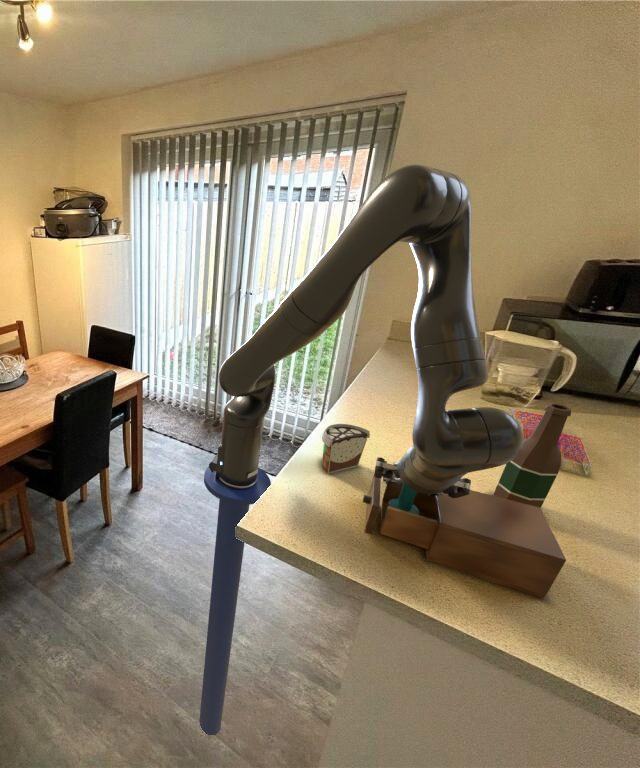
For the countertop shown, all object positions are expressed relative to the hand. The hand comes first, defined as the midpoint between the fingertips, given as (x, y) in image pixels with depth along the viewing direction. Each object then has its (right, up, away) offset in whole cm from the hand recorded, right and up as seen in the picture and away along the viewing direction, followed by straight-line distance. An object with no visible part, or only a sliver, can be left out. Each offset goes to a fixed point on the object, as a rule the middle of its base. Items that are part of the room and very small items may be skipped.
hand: (409, 485), depth 77 cm
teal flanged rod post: (-1, -7, +2) cm, 7 cm away
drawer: (0, -9, +2) cm, 9 cm away
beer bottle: (+28, -7, +8) cm, 30 cm away
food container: (-3, 0, +23) cm, 23 cm away
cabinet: (+10, -12, -4) cm, 16 cm away
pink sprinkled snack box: (+57, +4, +30) cm, 65 cm away
